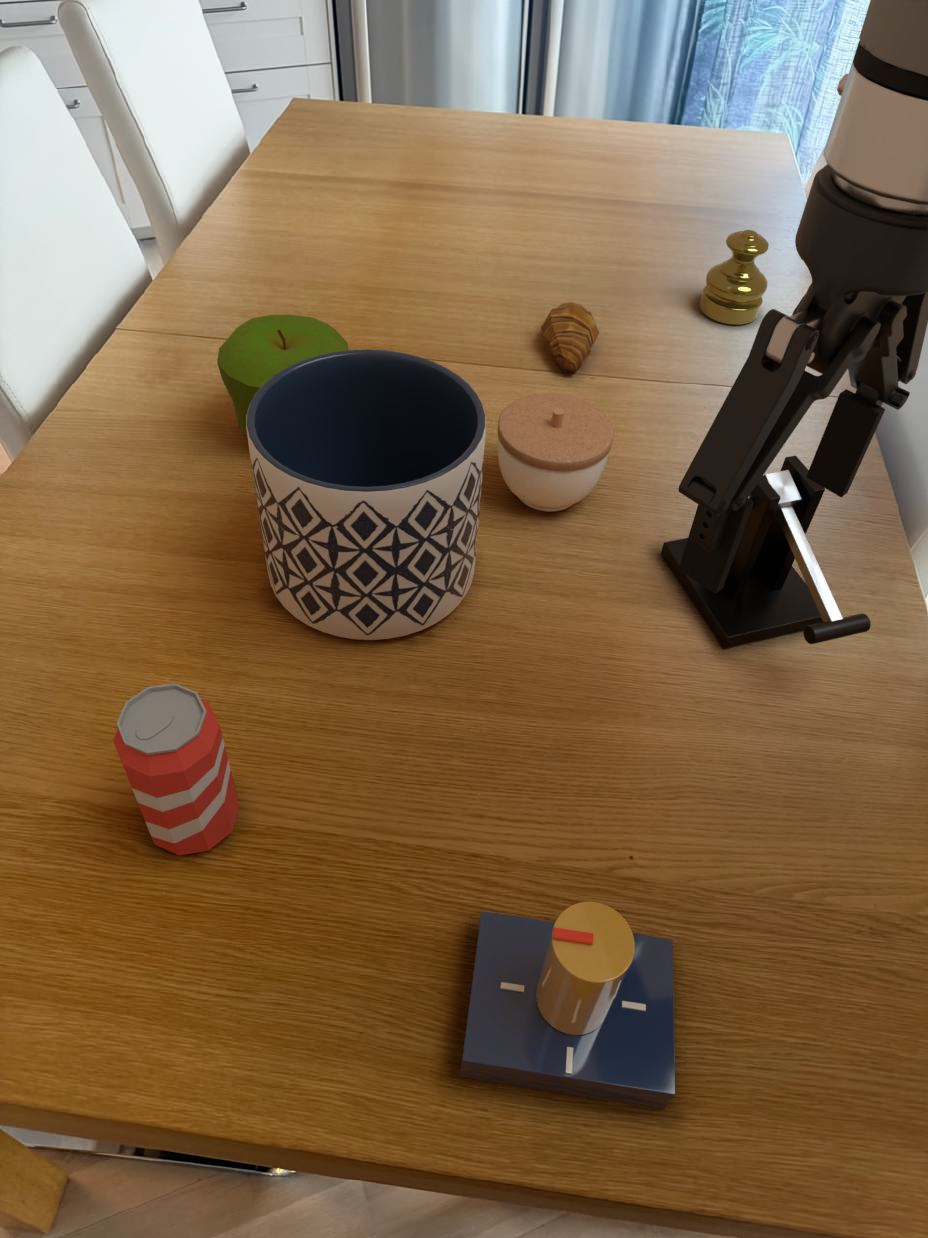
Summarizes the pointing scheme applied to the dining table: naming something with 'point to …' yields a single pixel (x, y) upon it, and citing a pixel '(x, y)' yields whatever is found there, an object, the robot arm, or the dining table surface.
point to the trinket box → (553, 449)
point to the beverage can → (177, 768)
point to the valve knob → (584, 967)
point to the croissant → (570, 335)
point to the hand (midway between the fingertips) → (766, 529)
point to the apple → (270, 353)
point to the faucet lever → (811, 568)
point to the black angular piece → (758, 572)
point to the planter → (368, 490)
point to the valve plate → (555, 1061)
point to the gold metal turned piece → (736, 281)
